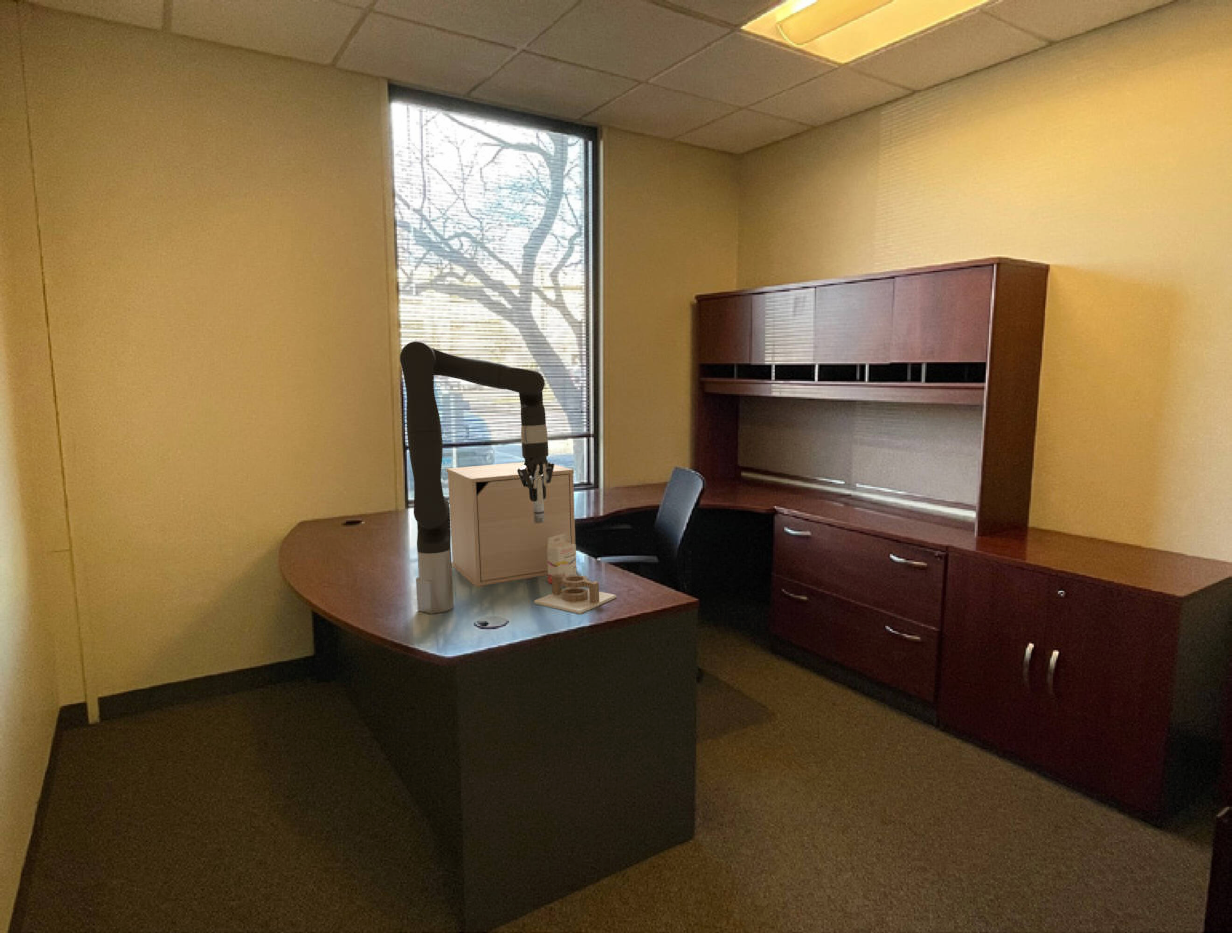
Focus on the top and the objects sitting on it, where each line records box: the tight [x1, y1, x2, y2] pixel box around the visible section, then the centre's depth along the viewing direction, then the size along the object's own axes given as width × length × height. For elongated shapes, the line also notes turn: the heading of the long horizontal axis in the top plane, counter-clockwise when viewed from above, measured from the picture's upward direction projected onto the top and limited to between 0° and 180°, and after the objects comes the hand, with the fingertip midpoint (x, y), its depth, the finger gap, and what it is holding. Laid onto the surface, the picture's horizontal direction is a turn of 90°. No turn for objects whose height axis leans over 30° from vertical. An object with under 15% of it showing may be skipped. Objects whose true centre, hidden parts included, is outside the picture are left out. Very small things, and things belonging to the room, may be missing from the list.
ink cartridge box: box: [547, 534, 577, 584], centre depth 230 cm, size 9×5×15 cm, turn 141°
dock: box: [533, 574, 617, 615], centre depth 210 cm, size 17×17×6 cm
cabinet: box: [446, 461, 578, 587], centre depth 246 cm, size 35×29×34 cm
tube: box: [532, 474, 545, 523], centre depth 209 cm, size 3×3×14 cm
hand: (538, 499), depth 209 cm, fingers closed on tube, 3 cm apart
